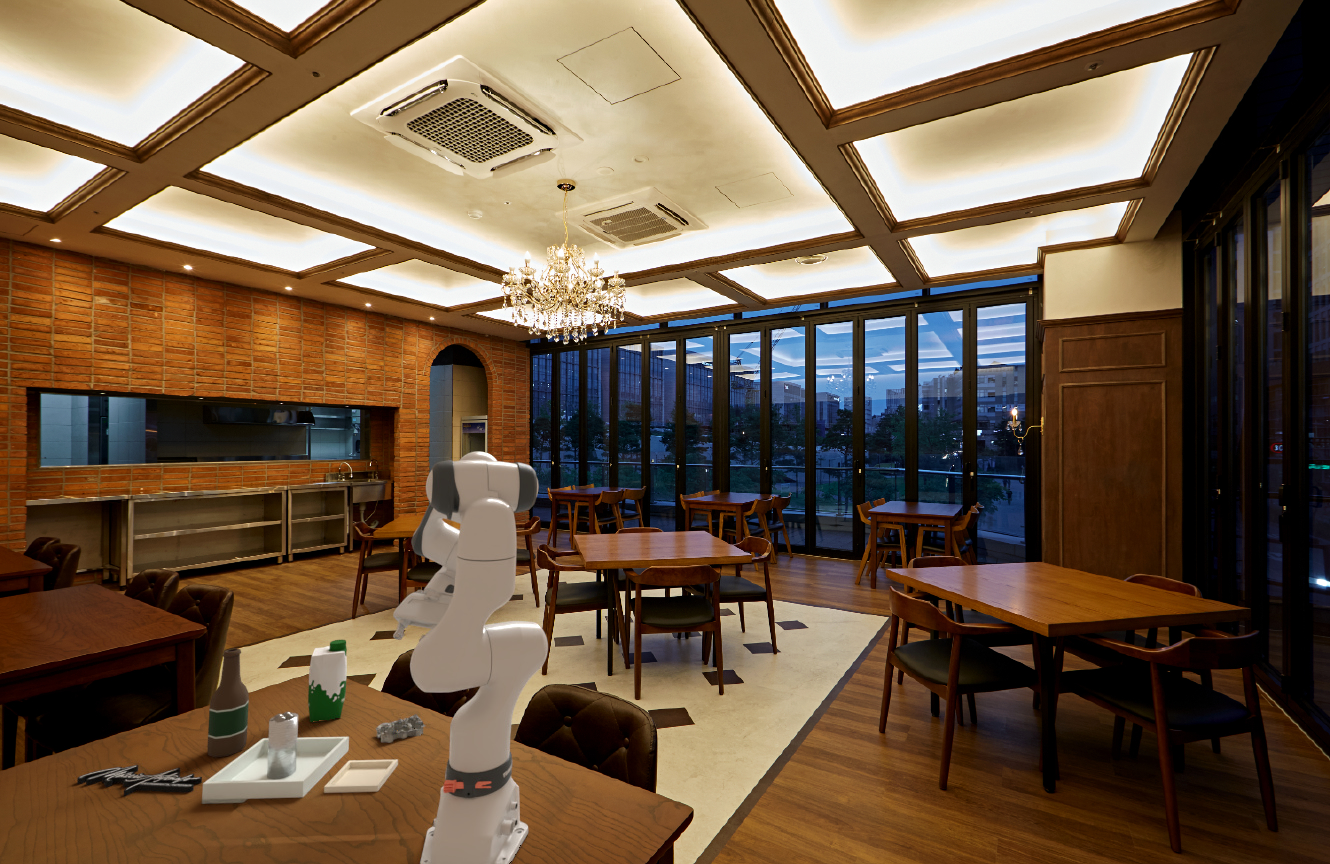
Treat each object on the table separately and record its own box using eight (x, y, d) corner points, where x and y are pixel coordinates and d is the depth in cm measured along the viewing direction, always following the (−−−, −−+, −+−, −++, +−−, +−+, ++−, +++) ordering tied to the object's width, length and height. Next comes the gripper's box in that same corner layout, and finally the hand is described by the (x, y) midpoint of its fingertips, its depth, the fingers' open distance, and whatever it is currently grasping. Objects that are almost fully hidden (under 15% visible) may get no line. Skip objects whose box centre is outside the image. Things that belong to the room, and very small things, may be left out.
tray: (377, 794, 124) (377, 785, 125) (323, 796, 124) (324, 786, 124) (397, 768, 135) (398, 759, 135) (348, 769, 135) (348, 760, 135)
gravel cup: (287, 779, 129) (289, 718, 129) (261, 779, 128) (263, 719, 129) (301, 766, 134) (303, 708, 135) (276, 766, 134) (278, 708, 135)
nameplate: (57, 787, 124) (105, 763, 134) (56, 794, 124) (104, 770, 134) (180, 793, 122) (219, 768, 132) (180, 800, 122) (219, 775, 132)
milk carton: (343, 719, 161) (346, 644, 162) (305, 725, 157) (308, 649, 158) (346, 707, 169) (348, 636, 170) (309, 712, 165) (312, 640, 166)
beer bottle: (230, 758, 139) (235, 655, 140) (198, 757, 139) (203, 654, 141) (254, 742, 147) (258, 645, 148) (223, 742, 147) (228, 644, 148)
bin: (302, 800, 122) (303, 781, 122) (201, 803, 121) (202, 783, 121) (348, 753, 142) (348, 736, 142) (262, 755, 141) (263, 738, 141)
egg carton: (381, 749, 145) (381, 732, 145) (374, 738, 151) (374, 721, 151) (426, 736, 151) (426, 720, 152) (417, 726, 157) (417, 710, 158)
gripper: (408, 582, 156) (373, 628, 146) (463, 589, 146) (430, 639, 137) (422, 596, 159) (389, 642, 150) (477, 604, 149) (445, 653, 140)
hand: (409, 640), depth 143 cm, fingers open, 8 cm apart
